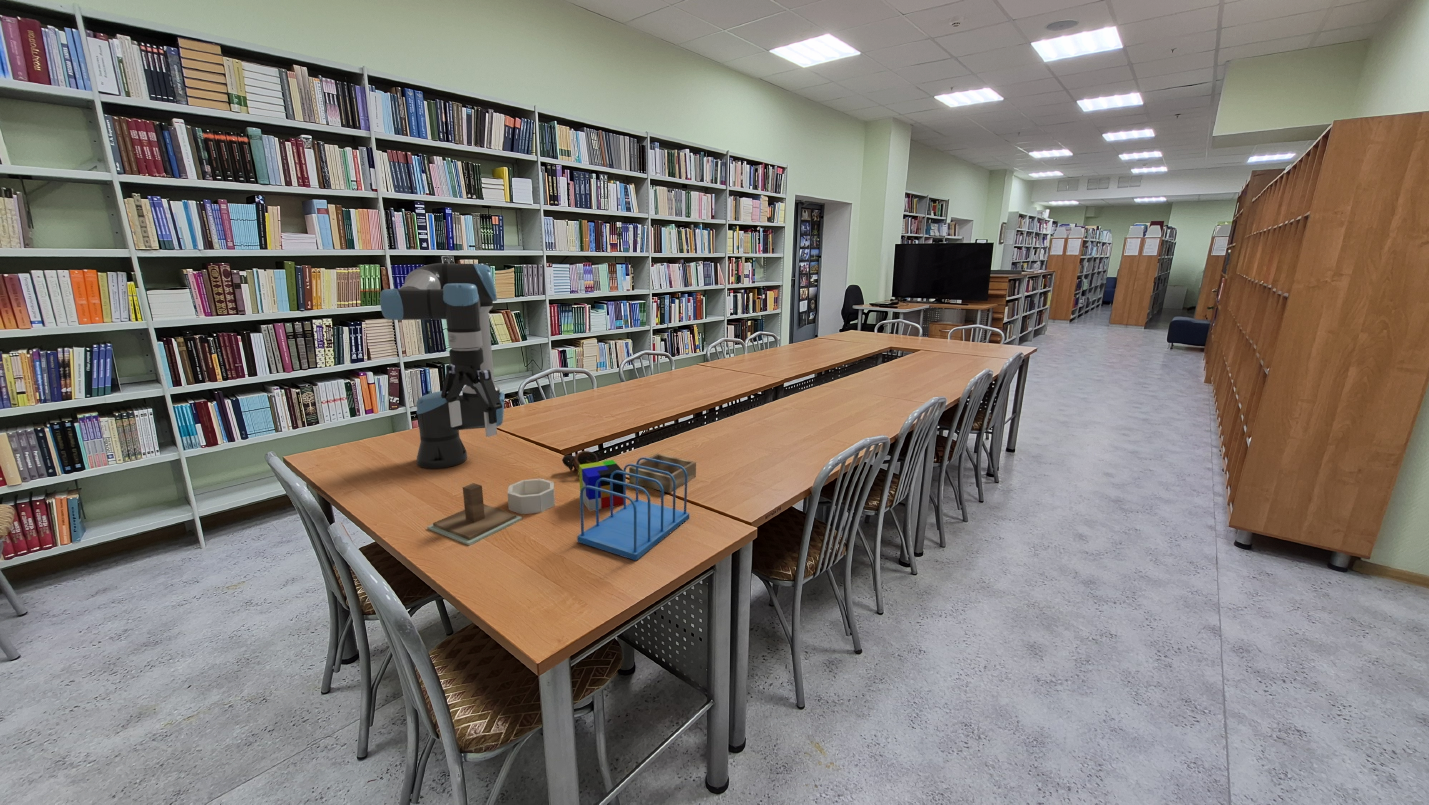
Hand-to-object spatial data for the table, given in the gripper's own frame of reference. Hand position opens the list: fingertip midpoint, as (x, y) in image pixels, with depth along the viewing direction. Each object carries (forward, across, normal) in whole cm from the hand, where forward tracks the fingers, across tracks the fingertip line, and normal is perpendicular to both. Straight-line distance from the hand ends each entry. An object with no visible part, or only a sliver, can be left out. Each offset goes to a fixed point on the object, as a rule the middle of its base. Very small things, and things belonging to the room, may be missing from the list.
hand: (473, 430), depth 138 cm
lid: (+23, +3, -4) cm, 24 cm away
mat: (+24, +3, -4) cm, 24 cm away
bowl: (+24, +6, +12) cm, 27 cm away
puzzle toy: (+24, +21, +24) cm, 40 cm away
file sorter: (+24, +40, +15) cm, 49 cm away
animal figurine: (+25, +1, +37) cm, 44 cm away
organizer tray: (+24, +27, +46) cm, 58 cm away
